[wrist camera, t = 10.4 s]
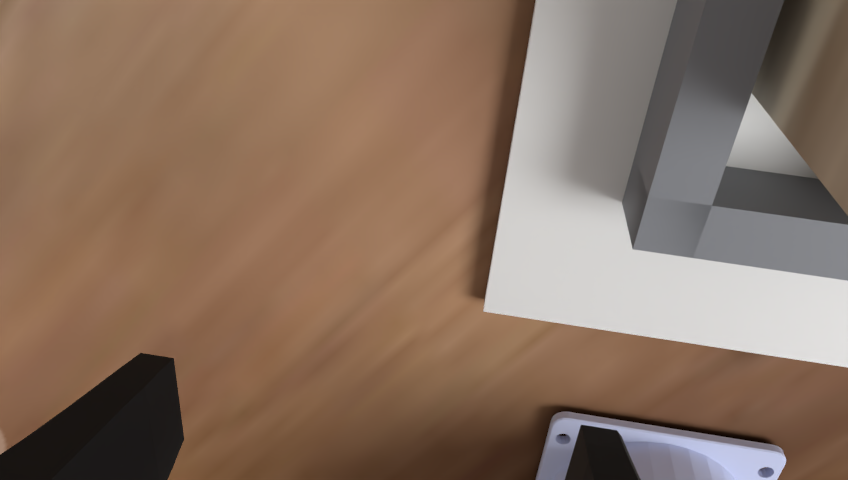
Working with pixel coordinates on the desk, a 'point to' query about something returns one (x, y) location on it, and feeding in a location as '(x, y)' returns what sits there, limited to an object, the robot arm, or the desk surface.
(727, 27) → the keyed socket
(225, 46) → the desk surface
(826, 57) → the key block
